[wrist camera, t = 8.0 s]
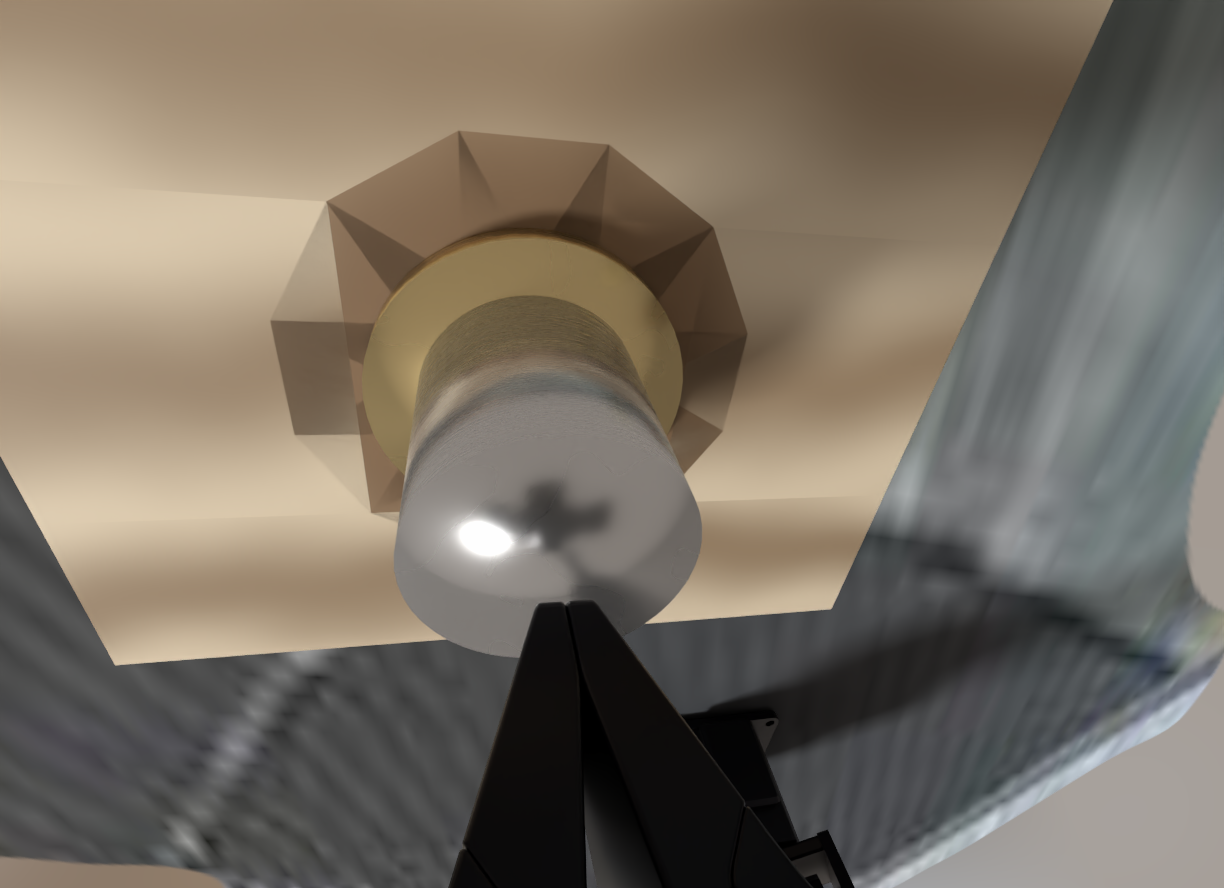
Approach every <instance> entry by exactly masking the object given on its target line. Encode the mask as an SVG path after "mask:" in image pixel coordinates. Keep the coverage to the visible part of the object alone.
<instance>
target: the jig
mask: <svg viewBox="0 0 1224 888" xmlns="http://www.w3.org/2000/svg"><path fill="white" fill-rule="evenodd" d="M1112 2H1113V0H0V456H1V458H2V460H3V462H4V463H5V465H6V467H7V469H8V471H9V473H10V474H11V476H12V478H13V480H14V482H15V483H16V485H17V487H18V489H19V491H20V493H21V494H22V496H23V498H24V500H25V502H26V504H27V505H28V507H29V509H30V511H31V513H32V514H33V516H34V518H35V520H36V522H37V524H38V525H39V527H40V529H41V531H42V533H43V535H44V536H45V538H46V540H47V542H48V544H49V545H50V547H51V549H52V551H53V553H54V555H55V556H56V558H57V560H58V562H59V564H60V566H61V567H62V569H63V571H64V573H65V575H66V576H67V578H68V580H69V582H70V584H71V586H72V587H73V589H74V591H75V593H76V595H77V596H78V598H79V600H80V602H81V604H82V606H83V607H84V609H85V611H86V613H87V615H88V617H89V618H90V620H91V622H92V624H93V626H94V627H95V629H96V631H97V633H98V635H99V637H100V638H101V640H102V642H103V644H104V646H105V648H106V649H107V651H108V653H109V655H110V657H111V658H112V660H113V662H114V664H115V665H124V664H137V663H150V662H163V661H176V660H188V659H201V658H214V657H227V656H239V655H252V654H265V653H278V652H291V651H303V650H316V649H329V648H342V647H354V646H367V645H380V644H393V643H405V642H418V641H431V640H444V639H446V638H444V637H442V636H441V635H439V634H437V633H436V632H434V631H433V630H431V629H430V628H429V627H428V626H426V625H425V624H424V623H423V622H422V621H421V620H420V619H419V618H418V617H417V616H416V615H415V614H414V613H413V612H412V611H411V609H410V608H409V606H408V605H407V603H406V602H405V600H404V599H403V597H402V594H401V592H400V590H399V587H398V585H397V581H396V577H395V572H394V549H395V542H396V535H397V528H398V521H399V514H400V507H401V500H402V493H403V485H404V478H405V475H404V474H403V473H402V472H401V471H400V470H399V469H398V468H397V467H396V466H395V465H394V464H393V463H392V462H391V460H390V459H389V458H388V456H387V455H386V454H385V453H384V451H383V450H382V448H381V446H380V445H379V443H378V441H377V439H376V437H375V436H374V434H373V431H372V429H371V426H370V423H369V421H368V418H367V415H366V410H365V405H364V401H363V389H362V374H363V365H364V358H365V354H366V351H367V347H368V343H369V340H370V337H371V333H372V330H373V327H374V324H375V321H376V319H377V317H378V315H379V313H380V310H381V308H382V306H383V304H384V303H385V301H386V300H387V298H388V297H389V295H390V294H391V292H392V291H393V289H394V288H395V287H396V285H397V284H398V283H399V282H400V281H401V280H402V279H403V278H404V277H405V275H406V274H407V273H408V272H409V271H410V270H412V269H413V268H414V267H415V266H416V265H418V264H419V263H420V262H421V261H423V260H424V259H425V258H426V257H428V256H430V255H431V254H433V253H435V252H436V251H438V250H440V249H441V248H443V247H444V246H447V245H449V244H451V243H454V242H456V241H458V240H461V239H463V238H465V237H469V236H472V235H476V234H479V233H483V232H487V231H493V230H500V229H507V228H539V229H547V230H554V231H559V232H563V233H567V234H570V235H574V236H578V237H580V238H583V239H585V240H587V241H590V242H592V243H595V244H597V245H599V246H601V247H602V248H604V249H606V250H607V251H609V252H611V253H613V254H614V255H616V256H617V257H619V258H620V259H621V260H622V261H624V262H625V263H626V264H627V265H629V266H630V267H631V268H632V269H633V270H634V271H635V272H636V273H637V274H638V275H639V276H640V277H641V278H642V279H643V280H644V281H645V283H646V284H647V285H648V287H649V288H650V290H651V291H652V292H653V294H654V295H655V297H656V298H657V300H658V301H659V303H660V305H661V306H662V308H663V309H664V311H665V312H666V314H667V316H668V318H669V320H670V322H671V324H672V326H673V328H674V331H675V334H676V337H677V340H678V343H679V346H680V352H681V358H682V366H683V384H682V392H681V399H680V403H679V406H678V410H677V414H676V417H675V419H674V421H673V424H672V426H671V429H670V431H669V433H668V434H667V438H668V440H669V443H670V445H671V447H672V449H673V451H674V454H675V456H676V458H677V460H678V462H679V465H680V467H681V469H682V471H683V473H684V476H685V478H686V480H687V482H688V484H689V487H690V489H691V491H692V493H693V496H694V498H695V500H696V503H697V506H698V508H699V511H700V516H701V522H702V542H701V548H700V553H699V556H698V559H697V562H696V565H695V567H694V569H693V571H692V573H691V575H690V577H689V579H688V581H687V582H686V584H685V585H684V586H683V588H682V589H681V591H680V592H679V593H678V594H677V595H676V597H675V598H674V599H673V600H672V601H671V602H670V603H669V604H668V605H667V606H666V607H665V608H664V609H663V610H662V611H661V612H659V613H658V614H657V615H656V616H654V617H653V618H652V619H650V620H649V621H648V622H646V623H645V624H648V623H661V622H674V621H687V620H699V619H712V618H725V617H738V616H750V615H763V614H776V613H789V612H802V611H814V610H827V609H832V606H833V604H834V602H835V600H836V598H837V596H838V594H839V591H840V589H841V587H842V585H843V583H844V581H845V578H846V576H847V574H848V572H849V570H850V568H851V565H852V563H853V561H854V559H855V557H856V555H857V553H858V550H859V548H860V546H861V544H862V542H863V540H864V537H865V535H866V533H867V531H868V529H869V527H870V524H871V522H872V520H873V518H874V516H875V514H876V512H877V509H878V507H879V505H880V503H881V501H882V499H883V496H884V494H885V492H886V490H887V488H888V486H889V483H890V481H891V479H892V477H893V475H894V473H895V471H896V468H897V466H898V464H899V462H900V460H901V458H902V455H903V453H904V451H905V449H906V447H907V445H908V442H909V440H910V438H911V436H912V434H913V432H914V430H915V427H916V425H917V423H918V421H919V419H920V417H921V414H922V412H923V410H924V408H925V406H926V404H927V401H928V399H929V397H930V395H931V393H932V391H933V389H934V386H935V384H936V382H937V380H938V378H939V376H940V373H941V371H942V369H943V367H944V365H945V363H946V360H947V358H948V356H949V354H950V352H951V350H952V348H953V345H954V343H955V341H956V339H957V337H958V335H959V332H960V330H961V328H962V326H963V324H964V322H965V319H966V317H967V315H968V313H969V311H970V309H971V307H972V304H973V302H974V300H975V298H976V296H977V294H978V291H979V289H980V287H981V285H982V283H983V281H984V278H985V276H986V274H987V272H988V270H989V268H990V266H991V263H992V261H993V259H994V257H995V255H996V253H997V250H998V248H999V246H1000V244H1001V242H1002V240H1003V237H1004V235H1005V233H1006V231H1007V229H1008V227H1009V224H1010V222H1011V220H1012V218H1013V216H1014V214H1015V212H1016V209H1017V207H1018V205H1019V203H1020V201H1021V199H1022V196H1023V194H1024V192H1025V190H1026V188H1027V186H1028V183H1029V181H1030V179H1031V177H1032V175H1033V173H1034V171H1035V168H1036V166H1037V164H1038V162H1039V160H1040V158H1041V155H1042V153H1043V151H1044V149H1045V147H1046V145H1047V142H1048V140H1049V138H1050V136H1051V134H1052V132H1053V130H1054V127H1055V125H1056V123H1057V121H1058V119H1059V117H1060V114H1061V112H1062V110H1063V108H1064V106H1065V104H1066V101H1067V99H1068V97H1069V95H1070V93H1071V91H1072V89H1073V86H1074V84H1075V82H1076V80H1077V78H1078V76H1079V73H1080V71H1081V69H1082V67H1083V65H1084V63H1085V60H1086V58H1087V56H1088V54H1089V52H1090V50H1091V48H1092V45H1093V43H1094V41H1095V39H1096V37H1097V35H1098V32H1099V30H1100V28H1101V26H1102V24H1103V22H1104V19H1105V17H1106V15H1107V13H1108V11H1109V9H1110V7H1111V4H1112Z"/></svg>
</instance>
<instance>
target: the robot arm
mask: <svg viewBox="0 0 1224 888" xmlns="http://www.w3.org/2000/svg"><path fill="white" fill-rule="evenodd" d="M778 723H779V720H778V717H777V715H776V713H775V712H774V711H765V712H757V713H748V714H739V715H730V716H722V717H713V718H704V719H696V720H687V721H685V720H684V719H683V718H682V716H681V715H680V714H679V712H678V711H677V710H676V708H675V707H674V706H673V704H672V703H671V702H670V700H669V699H668V698H667V696H666V695H665V694H664V692H663V691H662V690H661V688H660V687H659V686H658V684H657V683H656V682H655V680H654V679H653V678H652V676H651V675H650V674H649V672H648V671H647V670H646V668H645V667H644V666H643V664H642V663H641V662H640V660H639V659H638V658H637V656H636V655H635V654H634V652H633V651H632V650H631V648H630V647H629V646H628V644H627V643H626V642H625V640H624V639H623V637H622V636H621V635H620V633H619V632H618V631H617V629H616V628H615V627H614V625H613V624H612V623H611V621H610V620H609V619H608V617H607V616H606V615H605V613H604V612H603V611H602V609H601V608H600V607H599V605H598V604H597V603H596V602H595V601H593V600H589V599H588V600H573V601H568V602H567V603H566V605H565V604H564V603H563V602H560V601H558V602H544V603H538V604H537V605H536V606H535V609H534V612H533V615H532V618H531V622H530V625H529V628H528V631H527V635H526V638H525V641H524V644H523V648H522V651H521V654H520V657H519V661H518V664H517V667H516V670H515V674H514V677H513V680H512V683H511V687H510V690H509V693H508V696H507V700H506V703H505V706H504V710H503V713H502V716H501V719H500V723H499V726H498V729H497V732H496V736H495V739H494V742H493V745H492V749H491V752H490V755H489V758H488V762H487V765H486V768H485V771H484V775H483V778H482V781H481V784H480V788H479V791H478V794H477V797H476V801H475V804H474V807H473V810H472V814H471V817H470V820H469V823H468V827H467V830H466V833H465V837H464V840H463V843H462V845H463V849H462V850H460V852H459V855H458V858H457V861H456V865H455V868H454V871H453V874H452V878H451V881H450V884H449V887H448V888H587V880H586V844H585V830H586V835H587V840H588V845H589V849H590V854H591V859H592V864H593V869H594V874H595V879H596V884H597V888H823V886H822V885H823V884H826V883H829V882H831V883H832V885H833V888H854V885H853V883H852V881H851V879H850V877H849V875H848V872H847V870H846V868H845V866H844V864H843V862H842V860H841V857H840V855H839V853H838V851H837V849H836V847H835V844H834V842H833V840H832V838H831V836H830V834H829V832H828V830H825V831H822V832H819V833H817V836H815V837H812V838H809V839H806V840H803V841H800V842H799V839H798V837H797V834H796V832H795V829H794V827H793V824H792V821H791V819H790V816H789V814H788V811H787V809H786V806H785V804H784V801H783V799H782V796H781V793H780V791H779V788H778V786H777V783H776V781H775V778H774V776H773V773H772V771H771V768H770V765H769V763H768V760H767V758H766V755H765V751H766V748H767V746H768V744H769V742H770V740H771V738H772V736H773V733H774V731H775V729H776V727H777V725H778Z"/></svg>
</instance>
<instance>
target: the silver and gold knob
mask: <svg viewBox="0 0 1224 888" xmlns="http://www.w3.org/2000/svg"><path fill="white" fill-rule="evenodd" d="M682 384H683V366H682V358H681V352H680V346H679V343H678V340H677V337H676V334H675V331H674V328H673V326H672V324H671V322H670V320H669V318H668V316H667V314H666V312H665V311H664V309H663V308H662V306H661V305H660V303H659V301H658V300H657V298H656V297H655V295H654V294H653V292H652V291H651V290H650V288H649V287H648V285H647V284H646V283H645V281H644V280H643V279H642V278H641V277H640V276H639V275H638V274H637V273H636V272H635V271H634V270H633V269H632V268H631V267H630V266H629V265H627V264H626V263H625V262H624V261H622V260H621V259H620V258H619V257H617V256H616V255H614V254H613V253H611V252H609V251H607V250H606V249H604V248H602V247H601V246H599V245H597V244H595V243H592V242H590V241H587V240H585V239H583V238H580V237H578V236H574V235H570V234H567V233H563V232H559V231H554V230H547V229H539V228H507V229H500V230H493V231H487V232H483V233H479V234H476V235H472V236H469V237H465V238H463V239H461V240H458V241H456V242H454V243H451V244H449V245H447V246H444V247H443V248H441V249H440V250H438V251H436V252H435V253H433V254H431V255H430V256H428V257H426V258H425V259H424V260H423V261H421V262H420V263H419V264H418V265H416V266H415V267H414V268H413V269H412V270H410V271H409V272H408V273H407V274H406V275H405V277H404V278H403V279H402V280H401V281H400V282H399V283H398V284H397V285H396V287H395V288H394V289H393V291H392V292H391V294H390V295H389V297H388V298H387V300H386V301H385V303H384V304H383V306H382V308H381V310H380V313H379V315H378V317H377V319H376V321H375V324H374V327H373V330H372V333H371V337H370V340H369V343H368V347H367V351H366V354H365V358H364V365H363V374H362V389H363V401H364V405H365V410H366V415H367V418H368V421H369V423H370V426H371V429H372V431H373V434H374V436H375V437H376V439H377V441H378V443H379V445H380V446H381V448H382V450H383V451H384V453H385V454H386V455H387V456H388V458H389V459H390V460H391V462H392V463H393V464H394V465H395V466H396V467H397V468H398V469H399V470H400V471H401V472H402V473H403V474H404V475H405V478H404V485H403V493H402V500H401V507H400V514H399V521H398V528H397V535H396V542H395V549H394V572H395V577H396V581H397V585H398V587H399V590H400V592H401V594H402V597H403V599H404V600H405V602H406V603H407V605H408V606H409V608H410V609H411V611H412V612H413V613H414V614H415V615H416V616H417V617H418V618H419V619H420V620H421V621H422V622H423V623H424V624H425V625H426V626H428V627H429V628H430V629H431V630H433V631H434V632H436V633H437V634H439V635H441V636H442V637H444V638H446V639H447V640H449V641H452V642H454V643H456V644H458V645H460V646H463V647H466V648H469V649H472V650H475V651H478V652H483V653H487V654H492V655H497V656H505V657H517V658H519V657H520V654H521V651H522V648H523V644H524V641H525V638H526V635H527V631H528V628H529V625H530V622H531V618H532V615H533V612H534V609H535V606H536V605H537V604H538V603H544V602H558V601H560V602H563V603H564V604H565V605H566V603H567V602H568V601H573V600H588V599H589V600H593V601H595V602H596V603H597V604H598V605H599V607H600V608H601V609H602V611H603V612H604V613H605V615H606V616H607V617H608V619H609V620H610V621H611V623H612V624H613V625H614V627H615V628H616V629H617V631H618V632H619V633H620V635H621V636H624V635H626V634H628V633H630V632H632V631H633V630H635V629H637V628H638V627H640V626H642V625H643V624H645V623H646V622H648V621H649V620H650V619H652V618H653V617H654V616H656V615H657V614H658V613H659V612H661V611H662V610H663V609H664V608H665V607H666V606H667V605H668V604H669V603H670V602H671V601H672V600H673V599H674V598H675V597H676V595H677V594H678V593H679V592H680V591H681V589H682V588H683V586H684V585H685V584H686V582H687V581H688V579H689V577H690V575H691V573H692V571H693V569H694V567H695V565H696V562H697V559H698V556H699V553H700V548H701V542H702V522H701V516H700V511H699V508H698V506H697V503H696V500H695V498H694V496H693V493H692V491H691V489H690V487H689V484H688V482H687V480H686V478H685V476H684V473H683V471H682V469H681V467H680V465H679V462H678V460H677V458H676V456H675V454H674V451H673V449H672V447H671V445H670V443H669V440H668V438H667V434H668V433H669V431H670V429H671V426H672V424H673V421H674V419H675V417H676V414H677V410H678V406H679V403H680V399H681V392H682Z"/></svg>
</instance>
